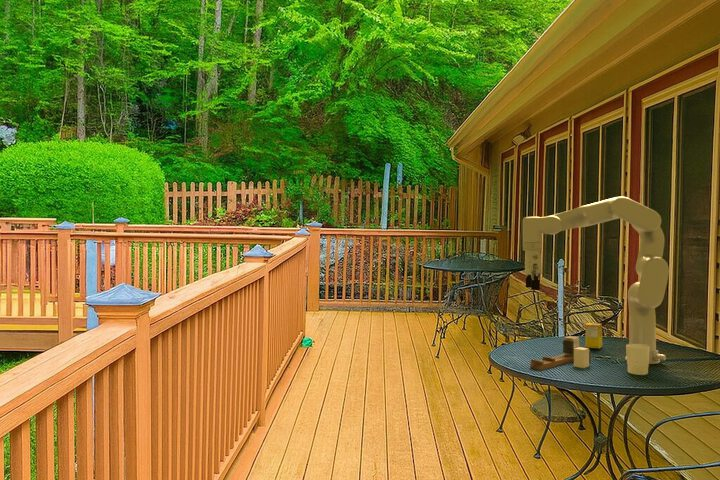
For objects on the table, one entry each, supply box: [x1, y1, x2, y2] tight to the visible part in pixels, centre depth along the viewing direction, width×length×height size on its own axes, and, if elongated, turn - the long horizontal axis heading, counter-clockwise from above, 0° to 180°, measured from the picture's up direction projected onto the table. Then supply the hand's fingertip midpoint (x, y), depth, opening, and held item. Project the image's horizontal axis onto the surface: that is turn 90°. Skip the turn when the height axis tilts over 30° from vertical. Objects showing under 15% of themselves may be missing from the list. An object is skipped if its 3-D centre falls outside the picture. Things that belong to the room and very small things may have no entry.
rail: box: [530, 335, 580, 371], centre depth 234 cm, size 5×29×9 cm, turn 128°
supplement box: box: [584, 322, 603, 351], centre depth 261 cm, size 6×6×11 cm
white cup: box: [625, 343, 650, 376], centre depth 217 cm, size 8×8×10 cm
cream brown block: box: [573, 346, 592, 369], centre depth 228 cm, size 4×5×7 cm
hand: (532, 288), depth 242 cm, fingers open, 9 cm apart
